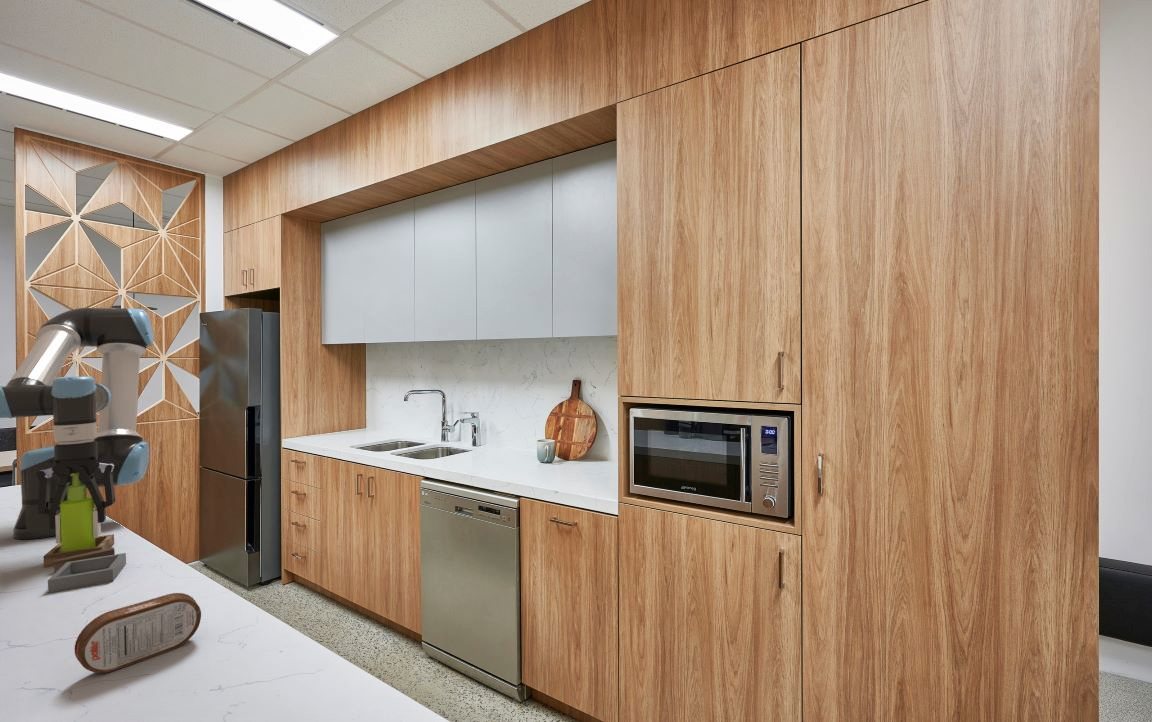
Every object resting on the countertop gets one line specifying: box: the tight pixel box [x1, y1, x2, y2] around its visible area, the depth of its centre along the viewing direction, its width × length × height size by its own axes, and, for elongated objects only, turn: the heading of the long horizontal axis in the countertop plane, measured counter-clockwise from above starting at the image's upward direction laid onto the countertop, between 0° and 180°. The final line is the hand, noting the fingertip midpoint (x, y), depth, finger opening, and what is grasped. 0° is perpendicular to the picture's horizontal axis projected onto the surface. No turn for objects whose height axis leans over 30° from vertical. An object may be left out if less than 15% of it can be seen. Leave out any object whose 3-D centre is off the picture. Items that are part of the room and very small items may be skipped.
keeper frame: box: [47, 552, 127, 594], centre depth 114 cm, size 11×10×2 cm
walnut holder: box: [42, 533, 115, 568], centre depth 128 cm, size 11×10×2 cm
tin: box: [74, 592, 202, 674], centre depth 82 cm, size 15×3×8 cm, turn 141°
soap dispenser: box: [60, 472, 95, 552], centre depth 128 cm, size 6×7×20 cm
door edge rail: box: [53, 546, 116, 575], centre depth 121 cm, size 2×10×2 cm, turn 136°
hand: (79, 538), depth 128 cm, fingers closed on soap dispenser, 6 cm apart
